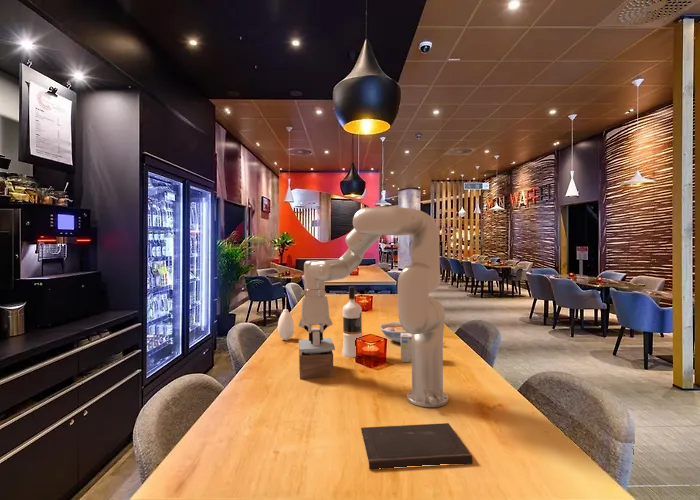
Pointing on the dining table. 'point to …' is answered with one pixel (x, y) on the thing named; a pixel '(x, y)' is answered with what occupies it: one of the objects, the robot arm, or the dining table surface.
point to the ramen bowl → (393, 331)
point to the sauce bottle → (285, 325)
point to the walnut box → (316, 365)
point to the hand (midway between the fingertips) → (315, 342)
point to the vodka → (351, 324)
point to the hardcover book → (413, 446)
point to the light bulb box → (406, 347)
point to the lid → (316, 343)
